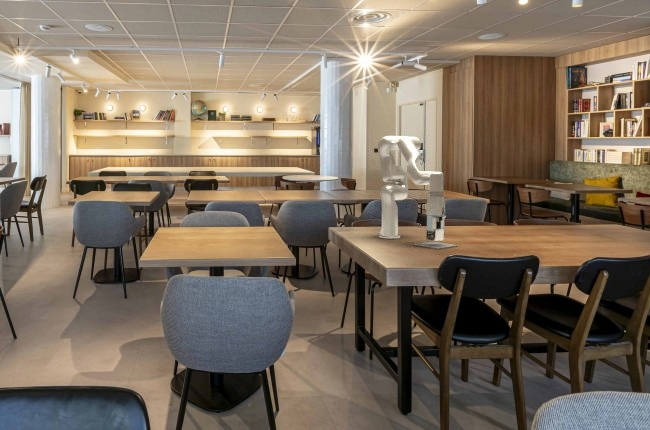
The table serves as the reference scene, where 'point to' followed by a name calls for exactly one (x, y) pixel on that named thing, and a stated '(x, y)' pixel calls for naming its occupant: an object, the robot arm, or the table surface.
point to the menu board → (434, 223)
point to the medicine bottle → (435, 235)
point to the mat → (435, 245)
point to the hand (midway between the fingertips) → (435, 228)
